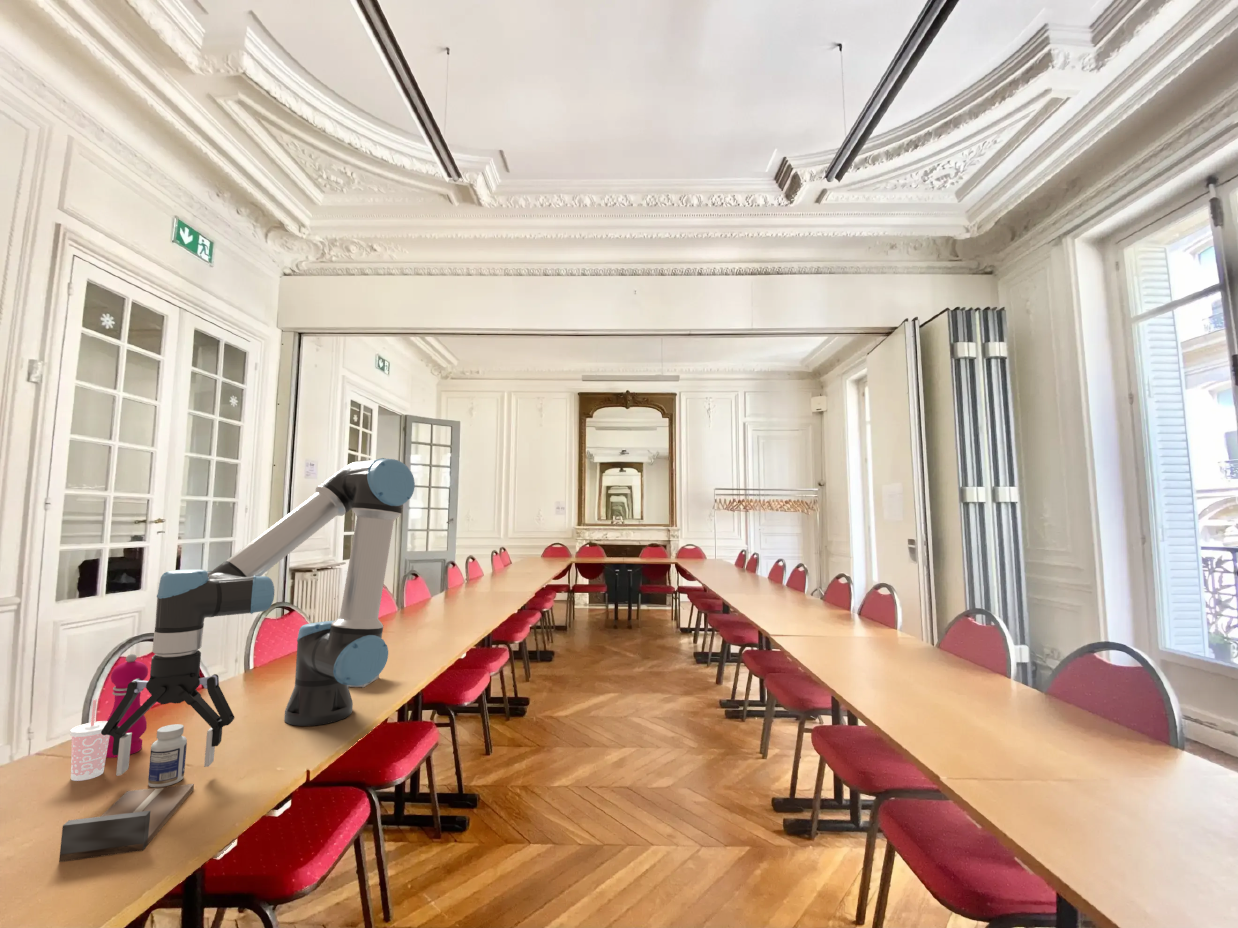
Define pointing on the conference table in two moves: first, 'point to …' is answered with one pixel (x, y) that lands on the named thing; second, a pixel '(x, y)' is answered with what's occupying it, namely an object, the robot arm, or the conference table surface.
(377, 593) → the robot arm
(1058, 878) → the conference table surface
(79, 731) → the beverage cup
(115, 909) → the conference table surface
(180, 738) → the pill bottle
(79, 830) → the board
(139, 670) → the pepper mill
